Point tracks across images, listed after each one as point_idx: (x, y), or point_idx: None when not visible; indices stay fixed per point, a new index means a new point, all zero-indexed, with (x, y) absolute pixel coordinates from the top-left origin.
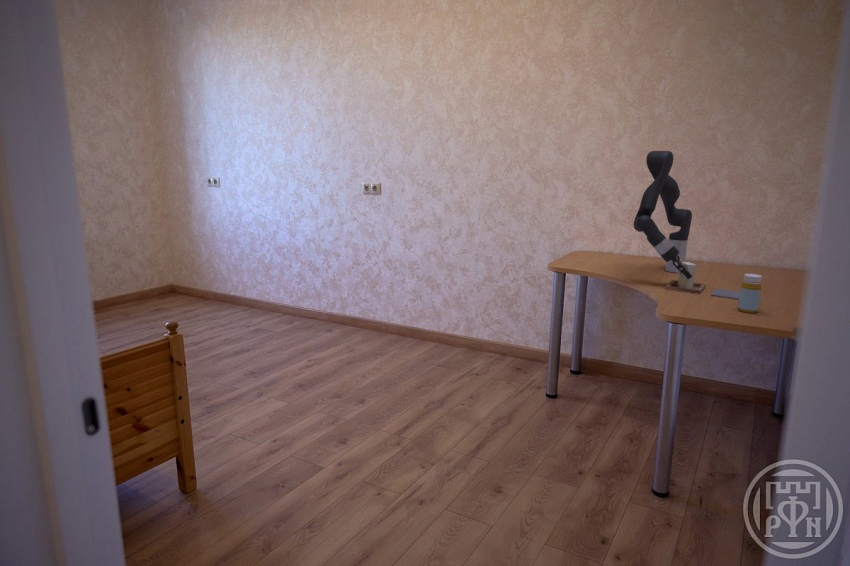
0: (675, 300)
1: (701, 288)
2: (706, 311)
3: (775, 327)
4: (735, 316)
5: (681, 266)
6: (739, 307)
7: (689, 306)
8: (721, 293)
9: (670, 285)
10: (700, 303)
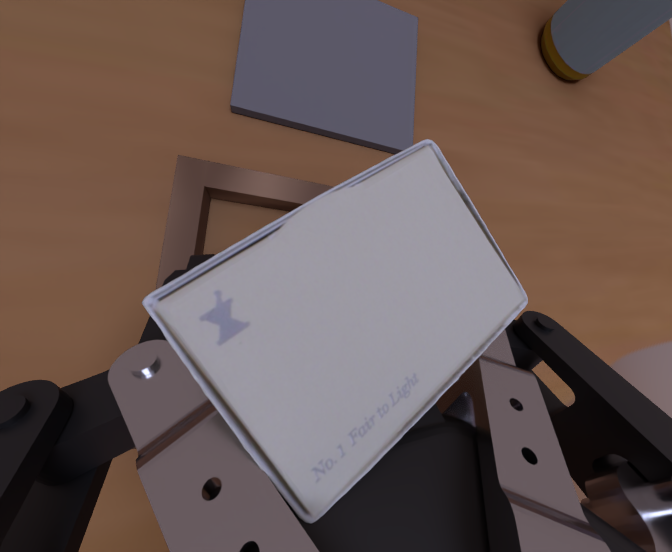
0: (576, 317)
1: None
2: (638, 196)
3: (661, 27)
4: (635, 111)
5: (619, 391)
6: (594, 71)
7: (619, 255)
8: (357, 92)
9: None
10: (562, 214)
